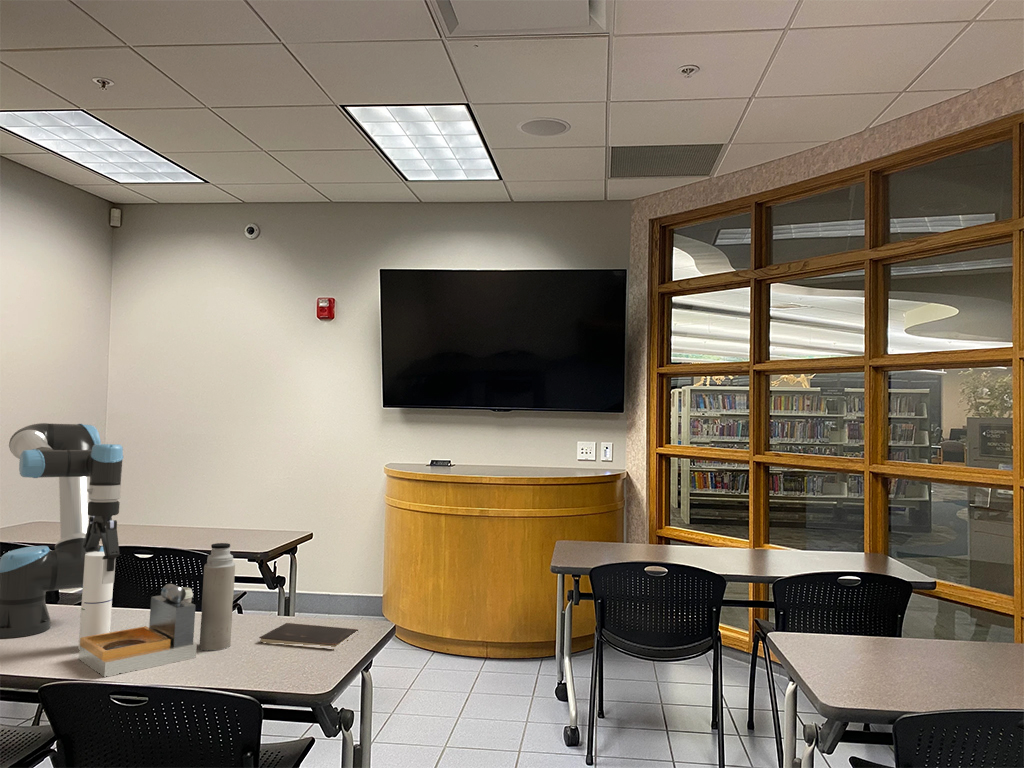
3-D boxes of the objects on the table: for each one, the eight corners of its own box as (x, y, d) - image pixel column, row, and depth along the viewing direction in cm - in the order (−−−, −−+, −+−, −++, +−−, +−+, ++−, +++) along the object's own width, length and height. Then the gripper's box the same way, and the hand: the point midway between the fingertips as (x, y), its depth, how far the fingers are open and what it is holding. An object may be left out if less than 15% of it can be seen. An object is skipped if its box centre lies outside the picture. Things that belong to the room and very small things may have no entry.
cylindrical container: (94, 652, 187) (101, 556, 189) (71, 650, 189) (78, 555, 190) (115, 645, 194) (121, 552, 196) (92, 642, 196) (99, 550, 197)
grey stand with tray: (78, 659, 182) (83, 590, 183) (167, 642, 198) (171, 578, 199) (104, 677, 170) (109, 603, 171) (195, 657, 186) (200, 589, 187)
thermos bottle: (222, 640, 201) (228, 540, 203) (235, 646, 196) (241, 544, 198) (194, 645, 196) (200, 543, 197) (207, 652, 190) (213, 547, 192)
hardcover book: (335, 652, 195) (335, 644, 196) (258, 645, 200) (259, 637, 200) (358, 636, 211) (358, 628, 211) (286, 629, 215) (287, 622, 216)
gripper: (73, 497, 199) (68, 574, 198) (105, 505, 183) (100, 588, 181) (102, 496, 205) (97, 570, 203) (136, 503, 188) (131, 584, 187)
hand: (98, 579), depth 192 cm, fingers open, 13 cm apart
